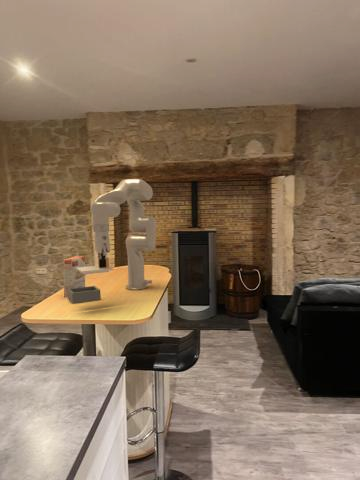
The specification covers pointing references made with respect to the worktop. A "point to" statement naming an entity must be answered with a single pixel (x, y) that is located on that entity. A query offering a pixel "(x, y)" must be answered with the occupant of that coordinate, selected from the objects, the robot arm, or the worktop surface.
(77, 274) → the cracker box
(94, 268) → the lid
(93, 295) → the tub
